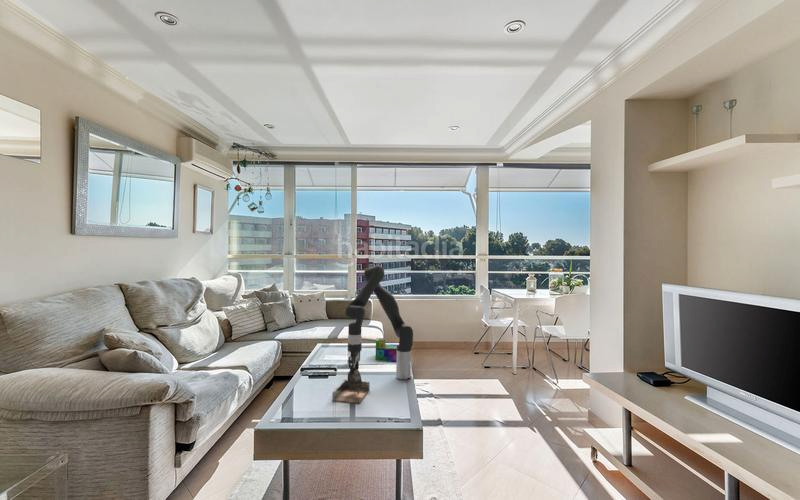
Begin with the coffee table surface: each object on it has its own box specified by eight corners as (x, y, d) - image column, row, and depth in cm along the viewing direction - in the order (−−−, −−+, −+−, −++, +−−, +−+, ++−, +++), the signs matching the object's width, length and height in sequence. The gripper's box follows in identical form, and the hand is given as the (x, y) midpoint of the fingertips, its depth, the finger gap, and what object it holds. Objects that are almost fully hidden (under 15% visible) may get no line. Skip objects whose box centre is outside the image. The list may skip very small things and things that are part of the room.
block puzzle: (374, 361, 272) (375, 342, 272) (376, 355, 289) (377, 336, 289) (409, 362, 272) (410, 342, 272) (409, 355, 289) (410, 337, 289)
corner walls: (369, 389, 218) (369, 381, 218) (359, 402, 200) (359, 394, 200) (344, 386, 221) (344, 379, 221) (332, 399, 203) (332, 391, 202)
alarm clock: (362, 394, 206) (362, 364, 206) (352, 396, 204) (353, 366, 203) (354, 387, 216) (355, 359, 216) (345, 389, 213) (346, 360, 213)
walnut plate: (369, 390, 218) (369, 388, 218) (359, 403, 200) (359, 402, 200) (344, 388, 221) (344, 386, 221) (332, 401, 203) (332, 399, 203)
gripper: (352, 338, 217) (351, 367, 217) (343, 344, 203) (343, 376, 203) (365, 339, 216) (364, 368, 216) (357, 345, 202) (356, 377, 202)
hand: (354, 372), depth 210 cm, fingers closed on alarm clock, 7 cm apart
